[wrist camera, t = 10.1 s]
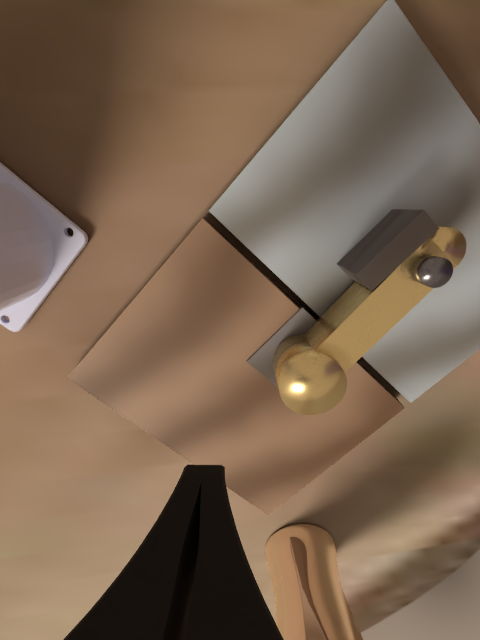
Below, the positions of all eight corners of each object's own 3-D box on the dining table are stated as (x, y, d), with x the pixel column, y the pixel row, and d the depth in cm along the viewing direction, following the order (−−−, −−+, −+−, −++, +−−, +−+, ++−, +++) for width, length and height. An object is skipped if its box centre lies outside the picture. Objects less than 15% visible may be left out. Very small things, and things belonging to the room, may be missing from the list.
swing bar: (302, 396, 20) (315, 431, 17) (260, 364, 20) (266, 395, 16) (451, 250, 17) (501, 260, 14) (410, 206, 17) (452, 206, 13)
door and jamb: (75, 368, 21) (39, 406, 17) (379, 11, 15) (430, -59, 11) (266, 501, 26) (272, 555, 22) (560, 266, 20) (643, 281, 16)
